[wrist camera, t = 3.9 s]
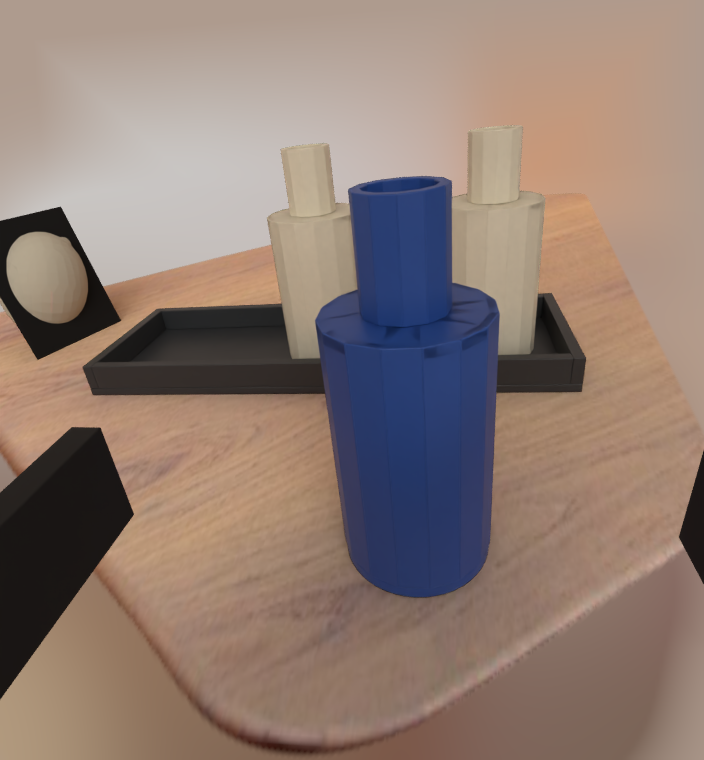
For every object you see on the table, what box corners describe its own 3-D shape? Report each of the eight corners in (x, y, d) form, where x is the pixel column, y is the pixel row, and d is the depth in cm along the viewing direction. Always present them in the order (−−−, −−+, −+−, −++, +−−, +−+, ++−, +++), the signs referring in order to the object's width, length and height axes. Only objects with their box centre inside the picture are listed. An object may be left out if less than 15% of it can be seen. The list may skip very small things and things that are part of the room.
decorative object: (4, 368, 54) (85, 331, 62) (51, 355, 48) (135, 316, 56) (-70, 250, 50) (27, 226, 58) (-28, 221, 44) (74, 198, 52)
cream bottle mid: (387, 354, 44) (372, 140, 36) (321, 383, 40) (288, 154, 32) (340, 333, 48) (317, 140, 41) (277, 357, 45) (239, 152, 37)
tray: (549, 320, 46) (551, 293, 45) (581, 392, 36) (586, 358, 34) (164, 332, 53) (157, 308, 52) (92, 395, 42) (81, 367, 41)
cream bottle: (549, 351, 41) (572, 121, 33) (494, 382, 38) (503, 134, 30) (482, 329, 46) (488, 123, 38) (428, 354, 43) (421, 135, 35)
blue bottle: (518, 542, 25) (548, 172, 17) (413, 627, 21) (388, 214, 13) (419, 475, 30) (405, 166, 22) (321, 536, 26) (262, 195, 18)
